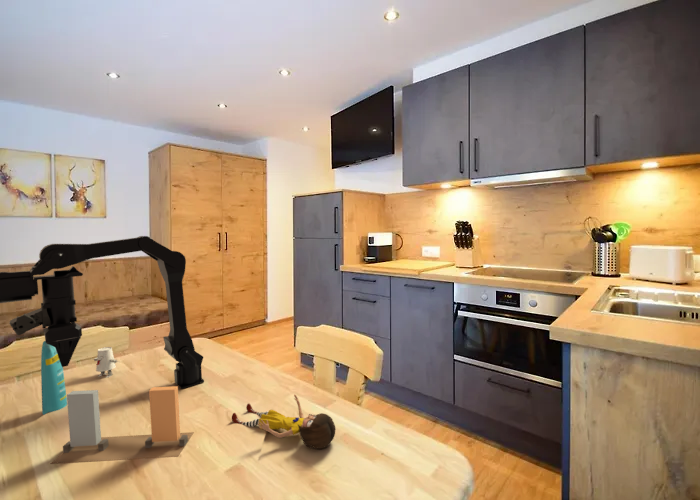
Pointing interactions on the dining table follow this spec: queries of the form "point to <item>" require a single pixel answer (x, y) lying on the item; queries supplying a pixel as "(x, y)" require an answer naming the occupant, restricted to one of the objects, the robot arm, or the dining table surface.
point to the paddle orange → (164, 413)
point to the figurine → (295, 426)
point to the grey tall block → (84, 418)
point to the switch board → (123, 449)
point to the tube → (52, 380)
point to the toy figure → (105, 361)
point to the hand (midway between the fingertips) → (63, 361)
